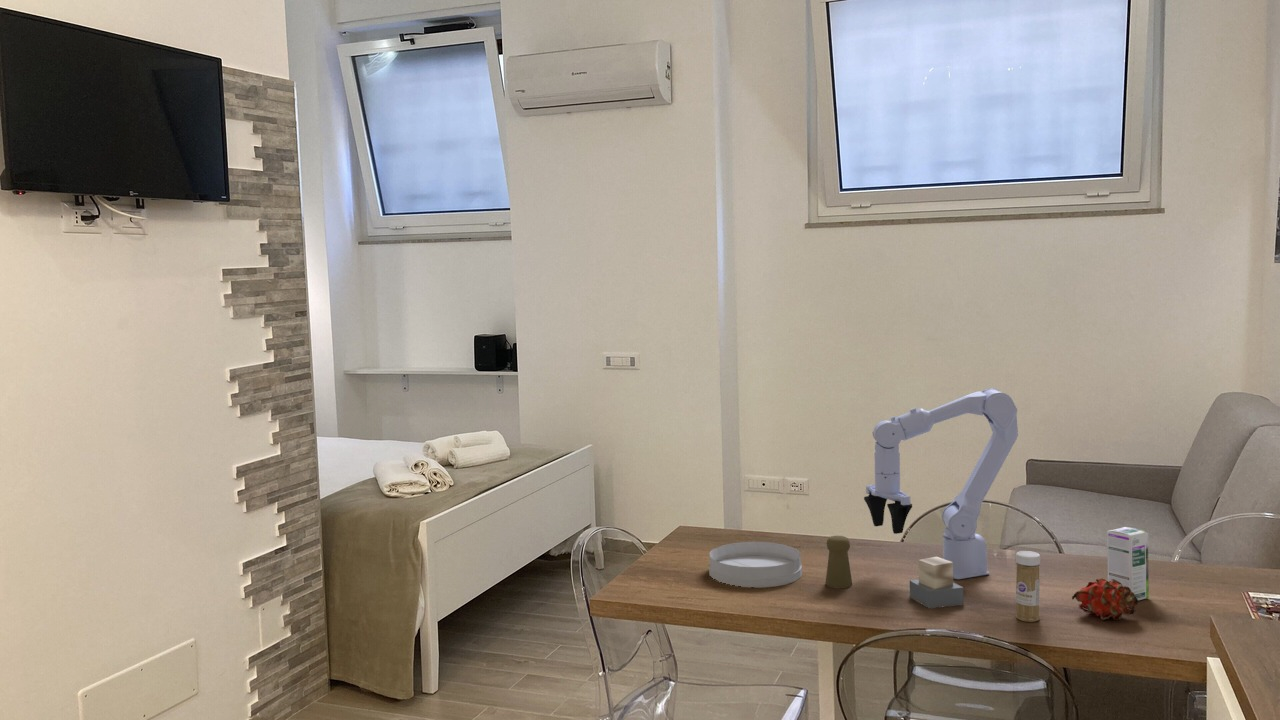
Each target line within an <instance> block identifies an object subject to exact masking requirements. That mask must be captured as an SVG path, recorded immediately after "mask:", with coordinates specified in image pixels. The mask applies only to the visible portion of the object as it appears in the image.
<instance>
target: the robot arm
mask: <svg viewBox="0 0 1280 720" xmlns="http://www.w3.org/2000/svg"><path fill="white" fill-rule="evenodd" d="M965 414H971V415H977V416H984V417H985V418H986V420H987V421H988V423H989V426H990V428H991V431H992V434H991V436H990V438H989V439H988V442H987V443H986V445H985V446H984V449H983V450H982V453H981V455H980V456H979V459H978V461H977V462H976V463H975V466H974V468H973V469H972V472H971V473H970V475H969V477H968V479H967V480H966V483H965V484H964V486H963V488H962V489H961V492H960V493H958V494H957V495H956V496H955V497H954V498H953V501H952V502H951V503H950V504H948V505H947V506H946V507H944V509H943V510H942V513H941V519H942V522H943V524H944V525H945V526H946V528H945V530H944V531H943V532H942V544H943V545H942V559H945V560H948V561H951V562H953V580H963V579H968V578H969V579H971V578H974V577H975V578H976V577H980V576H986V575H990V572H989V571H988V555H987V554H988V548H987V542H986V541H985V538H984V537H983V536H982V535H981V534H979V533H976V532H977V527H978V525H977V524H978V523H977V522H978V519H979V516H980V515H981V509H982V504H983V502H984V500H985V497H986V496H987V494H988V492H989V490H990V489H991V486H993V484H994V481H995V479H996V477H998V474H999V472H1000V470H1001V468H1002V467H1003V464H1004V463H1005V461H1006V460H1007V457H1008V456H1009V454H1010V452H1011V449H1012V448H1013V447H1014V444H1015V443H1016V441H1017V438H1018V436H1019V430H1018V418H1017V415H1018V408H1017V406H1016V404H1015V402H1014V400H1013V398H1012V397H1011V396H1010V395H1008V394H1007V393H1005V392H1002V391H1000V390H999V389H997V388H991V387H990V388H986V389H984V390H980V391H974V392H971V393H969V394H967V395H964V396H961V397H959V398H956V399H954V400H952V401H949V402H946V403H945V404H942V405H940V406H937V407H935V408H933V409H930V410H927V409H924V408H922V407H921V408H916V407H912V408H910V409H909V411H908V412H907V413H904V414H901V415H899V416H896V417H895V415H893V416H890V420H886V419H885V420H881V421H879V422H877V423H876V425H875V426H874V427H873V431H872V436H873V438H874V440H875V444H874V450H875V452H874V484H869V485H865V493H866V494H867V495H868V496H864V497H863V500H864V501H865V503H866V505H867V507H868V510H869V512H870V516H871V519H872V523H873V524H872V525H873V526H874V527H882V526H884V519H885V508H886V505H887V508H888V511H889V513H890V518H891V526H892V527H891V528H892V531H893V532H892V533H893V534H895V535H898V534H903V532H904V527H905V524H906V520H907V518H908V515H909V513H910V511H911V510H912V508H913V503H911V496H910V495H908V494H906V493H905V492H903V491H902V490H901V467H900V466H901V460H900V459H901V458H900V457H901V456H900V455H901V454H900V450H899V449H900V443H901V441H907V440H910V439H913V438H916V437H918V436H920V435H923V434H926V433H929V432H931V430H932V428H933V426H934V424H938V423H941V422H944V421H947V420H950V419H953V418H956V417H960V416H962V415H965ZM888 500H889V501H891V502H892V503H887V501H888ZM886 503H887V504H886Z"/></svg>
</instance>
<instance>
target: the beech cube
mask: <svg viewBox="0 0 1280 720" xmlns="http://www.w3.org/2000/svg"><path fill="white" fill-rule="evenodd" d="M917 563H918V564H917V565H918V566H917V567H918V579H919V583H921V584H923V585H926V586H928V587H931V588H933V589H937V588H942V587H947V586H952V585H953V582H954V578H953V562H951V561H948V560H945V559H943V557H939V556H932V557H926V558H922V559H921V558H920V559H918V562H917Z"/></svg>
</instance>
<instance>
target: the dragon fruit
mask: <svg viewBox="0 0 1280 720" xmlns="http://www.w3.org/2000/svg"><path fill="white" fill-rule="evenodd" d="M1111 580H1113V581H1109V582H1108V580H1106V579H1104V578H1095V581H1089V582H1088V583H1087V585H1086V586H1085V587H1082V588H1081V589H1080V590H1078V591H1076V592H1074V593H1073V595H1072V596H1071V598H1072V600H1076V601H1077V602H1079V603H1080V602H1081V603H1080V604H1078V609H1080V610H1081V611H1083V612H1084V613H1087V614H1092V615H1093V616H1094V617H1100V619H1101V620H1102V621H1105V620H1109V619H1111V618H1112V619H1113V620H1115V621H1116V620H1117V621H1118V620H1119V621H1120V620H1122V616H1123V615H1124V616H1129V615H1131V616H1132V615H1134V613H1135V612H1136V611H1137V610H1136V609H1135V607H1136V606H1138V603H1139V600H1138V599H1137V598H1136V595H1135V594H1134V593H1133V592H1131V590H1130V588H1129V587H1127V586H1123V585H1122V584H1121V583H1120V582H1118V581H1117V580H1115V579H1111ZM1110 617H1111V618H1110Z"/></svg>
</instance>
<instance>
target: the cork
mask: <svg viewBox="0 0 1280 720" xmlns="http://www.w3.org/2000/svg"><path fill="white" fill-rule="evenodd" d="M850 547H851V542H850V540H849V538H848V537H847V536H843V535H832V536H829V537H828V538H827V540H826V548H827V550H828V559H827V569H826V576H825V583H826V584H825V585H826V586H827V585H828V586H827V587H830V588H836V589H845V588H846V587H847V588H850V587H852V586H853V580H852V573H851V566H850V559H849V553H848V551H849V550H850Z"/></svg>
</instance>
